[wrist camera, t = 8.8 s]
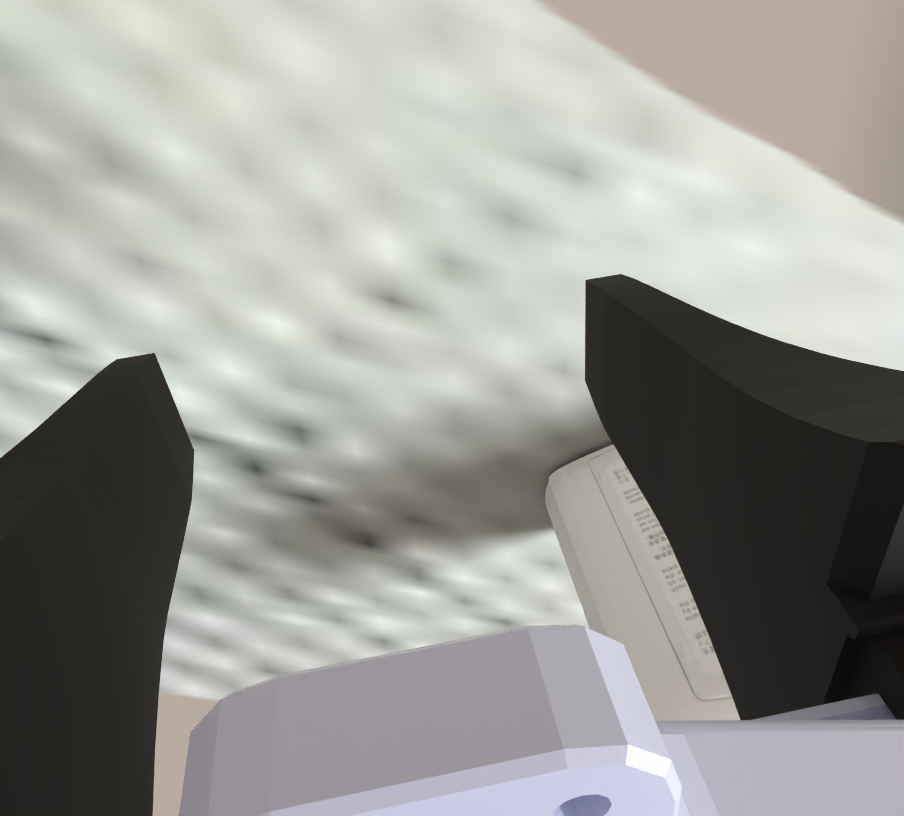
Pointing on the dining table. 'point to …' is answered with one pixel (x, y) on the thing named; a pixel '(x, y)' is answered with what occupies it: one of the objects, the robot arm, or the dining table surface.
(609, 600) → the photo printer
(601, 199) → the dining table surface
